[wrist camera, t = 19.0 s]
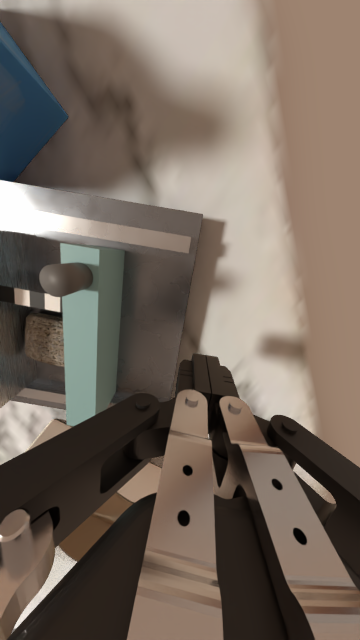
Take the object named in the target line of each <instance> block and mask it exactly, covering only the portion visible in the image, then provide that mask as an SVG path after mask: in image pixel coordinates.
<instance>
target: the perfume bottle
mask: <svg viewBox="0 0 360 640" xmlns="http://www.w3.org/2000/svg"><path fill="white" fill-rule="evenodd" d="M68 117H69V116H68V115H67V114H66V112H65V111H64V110H63V108H62V107H61V105H60V104H59V103H58V101H57V100H56V98H55V97H54V96H53V94H52V93H51V91H50V90H49V89H48V87H47V86H46V84H45V83H44V82H43V80H42V79H41V78H40V76H39V75H38V73H37V72H36V71H35V69H34V68H33V66H32V65H31V64H30V62H29V61H28V59H27V58H26V57H25V55H24V54H23V52H22V51H21V50H20V48H19V47H18V46H17V44H16V43H15V41H14V40H13V39H12V37H11V36H10V34H9V33H8V32H7V30H6V29H5V27H4V26H3V25H2V23H1V22H0V180H3V181H8V182H14V180H15V179H16V178H17V177H18V176H19V175H20V173H21V172H22V171H23V170H24V169H25V168H26V166H27V165H28V164H29V163H30V162H31V160H32V159H33V158H34V157H35V156H36V155H37V153H38V152H39V151H40V150H41V149H42V148H43V146H44V145H45V144H46V143H47V142H48V141H49V139H50V138H51V137H52V136H53V135H54V134H55V132H56V131H57V130H58V129H59V128H60V126H61V125H62V124H63V123H64V122H65V121H66V119H67V118H68Z"/></svg>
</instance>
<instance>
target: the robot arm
mask: <svg viewBox="0 0 360 640" xmlns="http://www.w3.org/2000/svg"><path fill="white" fill-rule="evenodd" d="M208 434H209V439H208ZM164 455H165V456H164ZM159 456H164V461H163V466H162V471H161V475H160V480H159V485H158V490H157V492H156V493H153V494H150V495H147V496H145V497H143V498H141V499H139V500H138V501H136V502H135V503H133V504H132V505H131V506H130V507H129V508H127V509H126V510H125V511H124V512H123V513H122V514H121V515H120V517H119V518H118V519H117V520H116V521H115V522H114V523H113V524H112V525H111V526H110V527H109V529H108V530H107V531H106V532H105V533H104V534H103V535H102V536H101V537H100V538H99V539H98V540H97V542H96V543H95V544H94V545H93V546H92V547H91V548H90V549H89V550H88V551H87V552H86V554H85V555H84V556H83V557H82V558H81V559H80V560H79V561H78V562H77V563H76V564H75V565H74V567H73V568H72V569H71V570H70V571H69V572H68V573H67V574H66V575H65V576H64V577H63V579H62V580H61V581H60V582H59V583H58V584H57V585H56V586H55V587H54V588H53V589H52V590H51V592H50V593H49V594H48V595H47V596H46V597H45V598H44V599H43V600H42V601H41V602H40V604H39V605H38V606H37V607H36V608H35V609H34V610H33V611H32V612H31V613H30V614H29V615H28V617H27V618H26V619H25V620H24V621H23V622H22V623H21V624H20V625H19V626H18V627H17V628H16V630H15V631H14V632H13V633H12V634H11V632H12V630H13V628H14V626H15V624H16V622H17V620H18V619H19V617H20V615H21V613H22V612H23V611H24V609H25V608H26V606H27V605H28V604H29V603H30V601H31V600H32V599H33V598H34V597H35V595H36V594H37V593H38V592H39V590H40V589H41V588H42V586H43V585H44V583H45V581H46V579H47V578H48V575H49V573H50V571H51V568H52V565H53V562H54V557H55V547H57V546H58V545H59V544H60V543H61V542H62V541H63V540H64V539H65V538H66V537H68V536H69V535H70V534H71V533H72V532H73V531H74V530H75V529H76V528H78V527H79V526H80V525H81V524H82V523H83V522H84V521H85V520H86V519H87V518H89V517H90V516H91V515H92V514H93V513H94V512H95V511H96V510H97V509H98V508H100V507H101V506H102V505H103V504H104V503H105V502H106V501H107V500H108V499H110V498H111V497H112V496H113V495H114V494H115V493H116V492H117V491H118V490H119V489H121V488H122V487H123V486H124V485H125V484H126V483H127V482H128V481H129V480H130V479H132V478H133V477H134V476H135V475H136V474H137V473H138V472H139V471H140V470H142V469H143V468H144V467H145V466H146V465H147V464H148V463H149V462H150V460H151V458H153V457H159ZM296 463H297V464H298V465H299V466H301V467H302V468H303V469H304V470H305V471H306V472H307V473H309V474H310V475H311V476H312V477H313V478H314V479H315V480H317V481H318V482H319V483H320V484H321V485H322V486H323V487H325V488H326V489H327V490H328V491H329V492H330V493H331V494H332V496H333V497H334V499H335V501H336V504H331V503H329V502H327V501H325V500H324V499H323V498H322V497H321V496H320V495H319V494H318V493H316V492H315V491H314V490H313V489H312V488H311V487H310V486H309V485H308V484H307V483H306V482H304V481H303V480H302V479H301V478H300V477H299V476H298V475H297V474H296V473H295V472H294V471H293V468H294V466H295V464H296ZM213 486H214V490H213ZM214 493H215V494H214ZM0 640H360V468H359V467H358V466H356V465H355V464H354V463H352V462H351V461H350V460H348V459H347V458H346V457H344V456H343V455H341V454H340V453H339V452H337V451H336V450H334V449H333V448H332V447H330V446H329V445H328V444H326V443H325V442H323V441H322V440H321V439H319V438H318V437H317V436H315V435H314V434H312V433H311V432H310V431H308V430H307V429H306V428H304V427H303V426H301V425H300V424H299V423H297V422H296V421H294V420H293V419H291V418H289V417H286V416H283V415H274V416H273V417H272V418H271V420H270V421H267V420H265V419H262V418H260V417H257V416H255V415H253V414H252V412H251V410H250V408H249V406H248V405H247V404H246V403H245V402H244V401H243V400H241V399H240V398H239V395H238V392H237V389H236V386H235V384H234V380H233V379H232V375H231V372H230V371H229V370H228V369H227V368H226V367H225V366H220V363H219V360H218V357H214V356H208V355H201V354H195V353H193V355H192V360H191V361H188V360H183V361H182V362H181V363H180V367H179V372H178V378H177V384H176V392H175V398H173V399H172V400H170V401H166V402H159V400H158V399H157V398H156V397H155V396H153V395H151V394H148V393H137V394H134V395H132V396H130V397H128V398H126V399H125V400H123V401H121V402H119V403H117V404H115V405H113V406H111V407H109V408H108V409H106V410H104V411H102V412H100V413H98V414H96V415H94V416H92V417H91V418H89V419H87V420H85V421H83V422H81V423H79V424H77V425H75V426H74V427H72V428H70V429H68V430H66V431H64V432H62V433H60V434H58V435H57V436H55V437H53V438H51V439H49V440H47V441H45V442H43V443H41V444H40V445H38V446H36V447H34V448H32V449H30V450H28V451H26V452H24V453H23V454H21V455H19V456H17V457H15V458H13V459H11V460H9V461H7V462H6V463H4V464H2V465H0Z"/></svg>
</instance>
